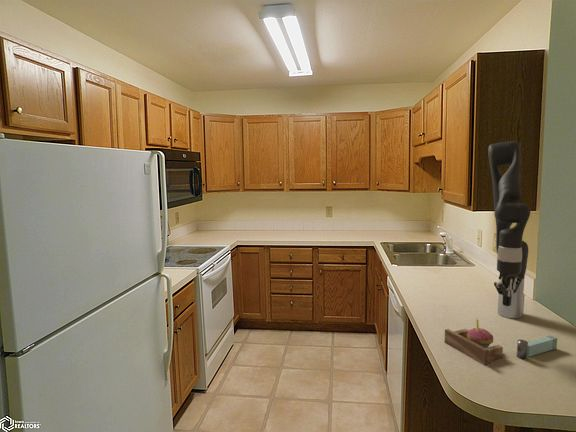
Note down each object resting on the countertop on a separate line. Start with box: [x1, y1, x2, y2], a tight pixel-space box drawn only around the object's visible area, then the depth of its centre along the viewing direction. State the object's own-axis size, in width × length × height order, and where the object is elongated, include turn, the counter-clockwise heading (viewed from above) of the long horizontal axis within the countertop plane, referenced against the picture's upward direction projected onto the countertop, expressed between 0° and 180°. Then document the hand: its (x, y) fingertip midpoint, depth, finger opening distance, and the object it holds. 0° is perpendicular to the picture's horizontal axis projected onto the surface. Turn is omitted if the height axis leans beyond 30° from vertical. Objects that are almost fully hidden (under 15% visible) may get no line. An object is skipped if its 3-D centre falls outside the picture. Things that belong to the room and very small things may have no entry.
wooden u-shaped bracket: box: [444, 328, 504, 366], centre depth 132 cm, size 9×17×5 cm, turn 22°
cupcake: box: [467, 318, 494, 348], centre depth 133 cm, size 9×8×12 cm
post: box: [516, 339, 529, 360], centre depth 127 cm, size 3×3×6 cm
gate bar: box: [527, 335, 558, 357], centre depth 130 cm, size 14×2×4 cm, turn 112°
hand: (506, 305), depth 134 cm, fingers closed
